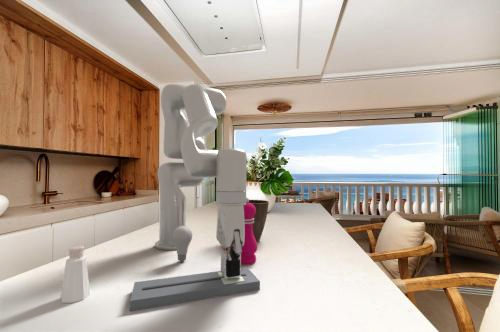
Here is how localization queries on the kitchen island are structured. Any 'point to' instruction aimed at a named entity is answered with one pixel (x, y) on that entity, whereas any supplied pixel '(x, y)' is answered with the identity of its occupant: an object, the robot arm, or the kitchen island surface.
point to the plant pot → (259, 217)
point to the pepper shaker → (75, 277)
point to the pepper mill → (249, 235)
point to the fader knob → (224, 262)
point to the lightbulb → (182, 241)
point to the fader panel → (189, 288)
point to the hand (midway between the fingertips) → (230, 271)
